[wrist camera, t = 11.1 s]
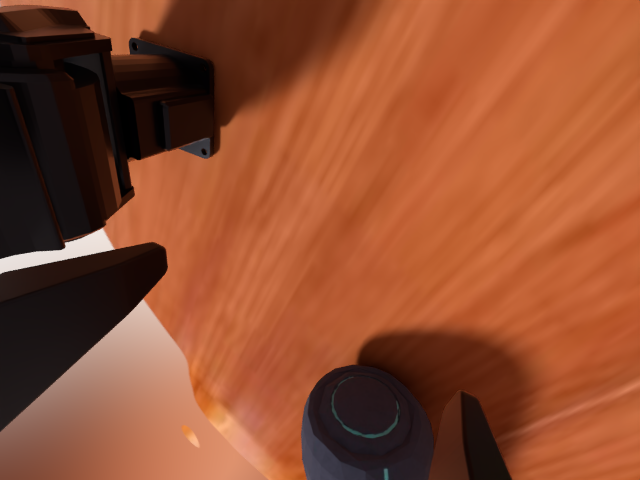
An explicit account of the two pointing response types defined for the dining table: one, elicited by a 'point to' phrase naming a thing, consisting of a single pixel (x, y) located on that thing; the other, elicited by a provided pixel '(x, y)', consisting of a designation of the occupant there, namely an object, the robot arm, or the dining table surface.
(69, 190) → the robot arm
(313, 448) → the portable speaker
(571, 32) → the dining table surface
